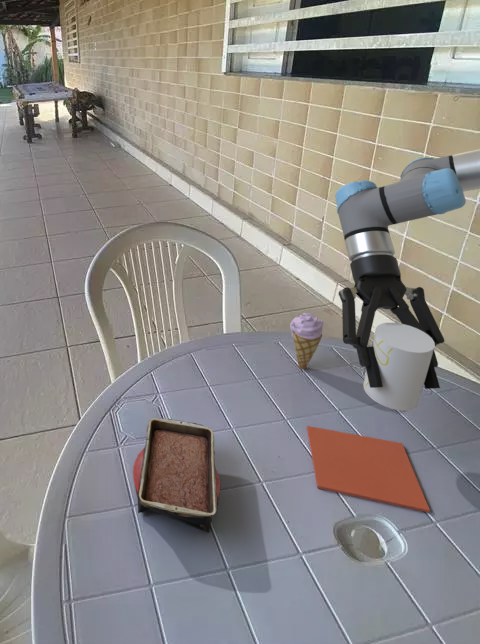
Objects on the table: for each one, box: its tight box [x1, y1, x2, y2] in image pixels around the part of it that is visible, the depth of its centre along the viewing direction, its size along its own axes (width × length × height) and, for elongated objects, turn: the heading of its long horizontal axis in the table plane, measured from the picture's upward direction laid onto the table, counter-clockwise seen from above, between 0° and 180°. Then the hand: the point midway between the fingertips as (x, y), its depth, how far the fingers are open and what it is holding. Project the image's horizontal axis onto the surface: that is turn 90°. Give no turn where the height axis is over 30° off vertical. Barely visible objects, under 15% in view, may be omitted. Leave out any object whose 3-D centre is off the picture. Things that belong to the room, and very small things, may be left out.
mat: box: [306, 425, 431, 514], centre depth 75 cm, size 16×13×1 cm
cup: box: [362, 322, 436, 412], centre depth 73 cm, size 8×8×12 cm
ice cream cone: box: [289, 311, 324, 370], centre depth 96 cm, size 7×6×15 cm
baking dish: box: [132, 417, 221, 533], centre depth 71 cm, size 14×18×10 cm
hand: (404, 387), depth 71 cm, fingers closed on cup, 8 cm apart
